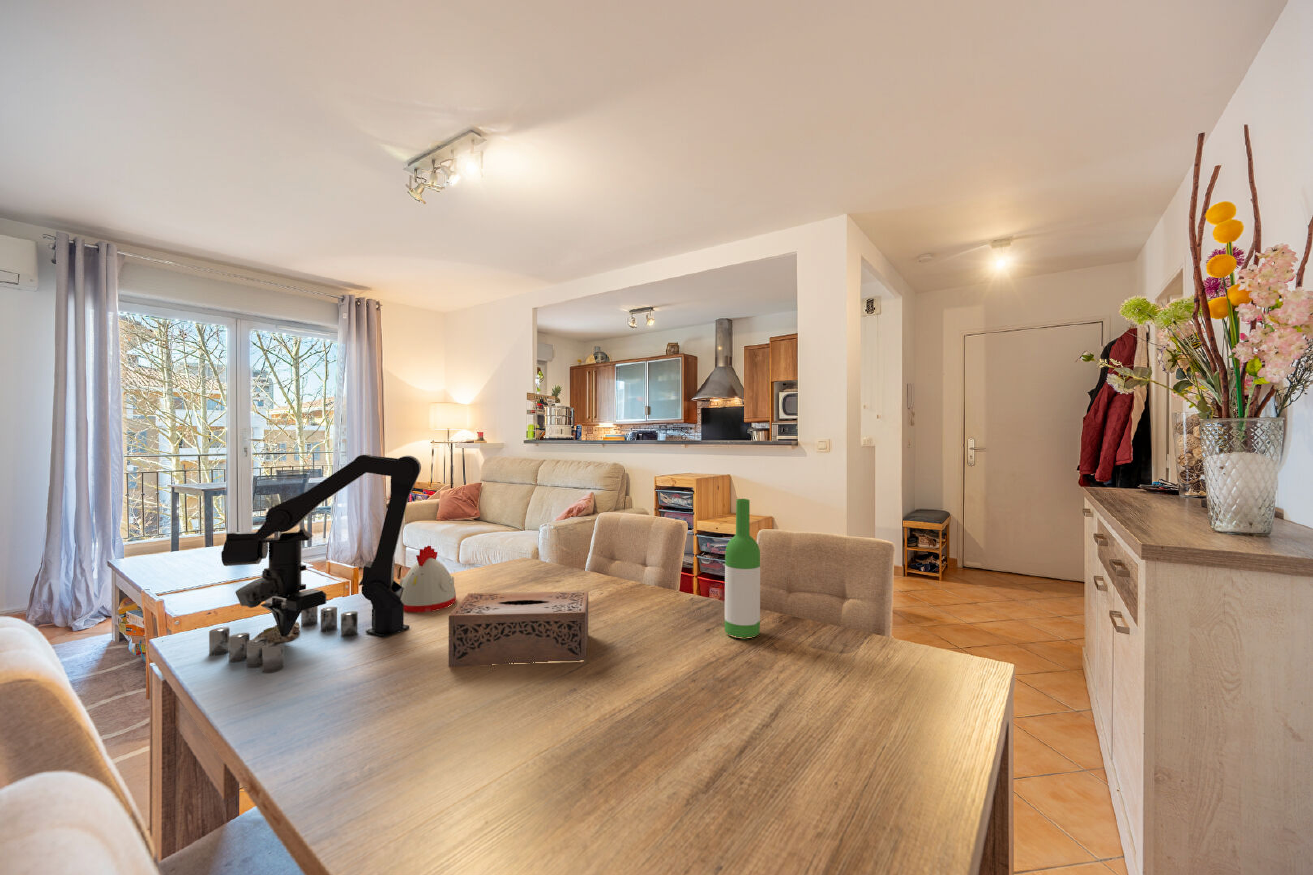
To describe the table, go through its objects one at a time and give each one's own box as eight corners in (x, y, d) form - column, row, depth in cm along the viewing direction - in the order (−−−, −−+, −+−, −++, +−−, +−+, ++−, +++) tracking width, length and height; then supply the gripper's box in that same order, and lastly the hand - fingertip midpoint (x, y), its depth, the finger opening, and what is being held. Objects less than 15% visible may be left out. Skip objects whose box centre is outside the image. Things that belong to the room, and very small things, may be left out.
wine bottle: (765, 632, 122) (766, 498, 121) (751, 643, 115) (752, 502, 115) (733, 625, 126) (734, 496, 125) (718, 636, 119) (719, 500, 119)
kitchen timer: (385, 610, 135) (385, 550, 135) (418, 594, 149) (418, 540, 149) (437, 614, 133) (437, 553, 133) (465, 597, 147) (465, 542, 147)
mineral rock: (275, 620, 122) (306, 612, 121) (281, 639, 122) (311, 631, 121) (232, 640, 111) (265, 631, 110) (238, 660, 111) (271, 652, 110)
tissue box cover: (448, 667, 103) (448, 615, 103) (468, 639, 117) (468, 593, 117) (584, 663, 105) (585, 612, 105) (588, 636, 120) (588, 590, 120)
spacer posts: (373, 635, 119) (373, 615, 118) (268, 674, 99) (268, 649, 99) (312, 620, 128) (312, 601, 128) (205, 653, 108) (205, 631, 108)
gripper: (216, 565, 111) (215, 641, 111) (271, 575, 103) (271, 657, 103) (273, 555, 121) (273, 624, 121) (328, 563, 113) (328, 638, 113)
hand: (284, 636), depth 114 cm, fingers closed
